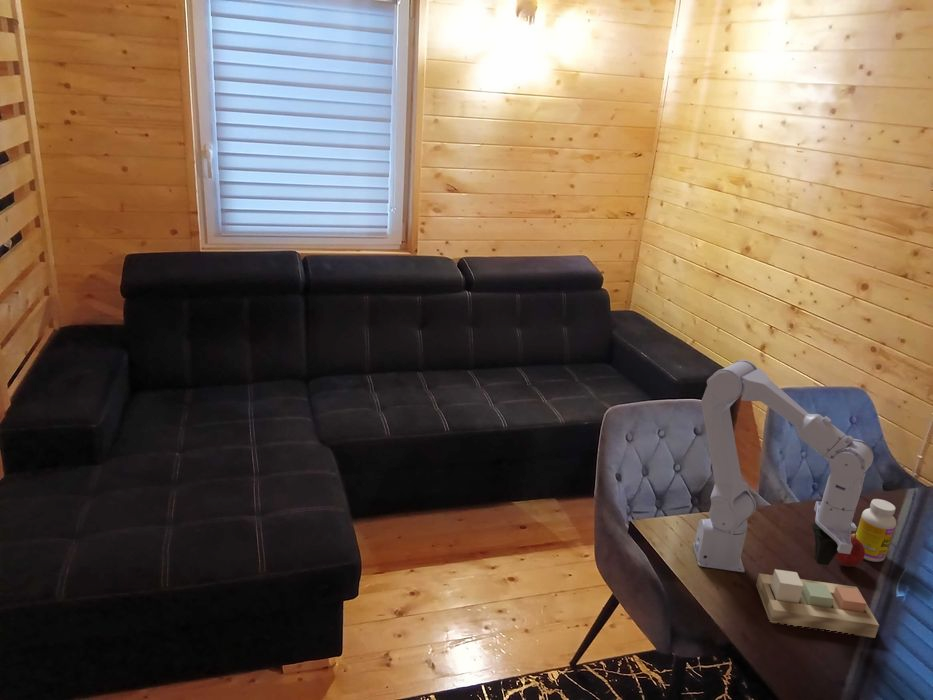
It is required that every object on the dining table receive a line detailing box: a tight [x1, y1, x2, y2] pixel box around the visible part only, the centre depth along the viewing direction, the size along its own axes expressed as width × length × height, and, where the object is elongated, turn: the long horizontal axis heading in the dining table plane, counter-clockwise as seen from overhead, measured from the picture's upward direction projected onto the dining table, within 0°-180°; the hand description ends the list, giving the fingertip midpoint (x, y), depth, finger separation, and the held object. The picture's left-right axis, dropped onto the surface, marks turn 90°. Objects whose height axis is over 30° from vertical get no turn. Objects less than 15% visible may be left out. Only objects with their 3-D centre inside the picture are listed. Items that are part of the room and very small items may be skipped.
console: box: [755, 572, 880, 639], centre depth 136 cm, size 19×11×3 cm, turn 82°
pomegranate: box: [834, 533, 865, 567], centre depth 149 cm, size 6×6×8 cm
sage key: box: [802, 582, 834, 608], centre depth 135 cm, size 4×4×4 cm
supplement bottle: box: [855, 498, 897, 563], centre depth 153 cm, size 7×7×13 cm
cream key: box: [770, 568, 803, 603], centre depth 135 cm, size 4×4×4 cm
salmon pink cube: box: [833, 586, 868, 613], centre depth 135 cm, size 4×4×4 cm
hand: (821, 562), depth 135 cm, fingers closed
